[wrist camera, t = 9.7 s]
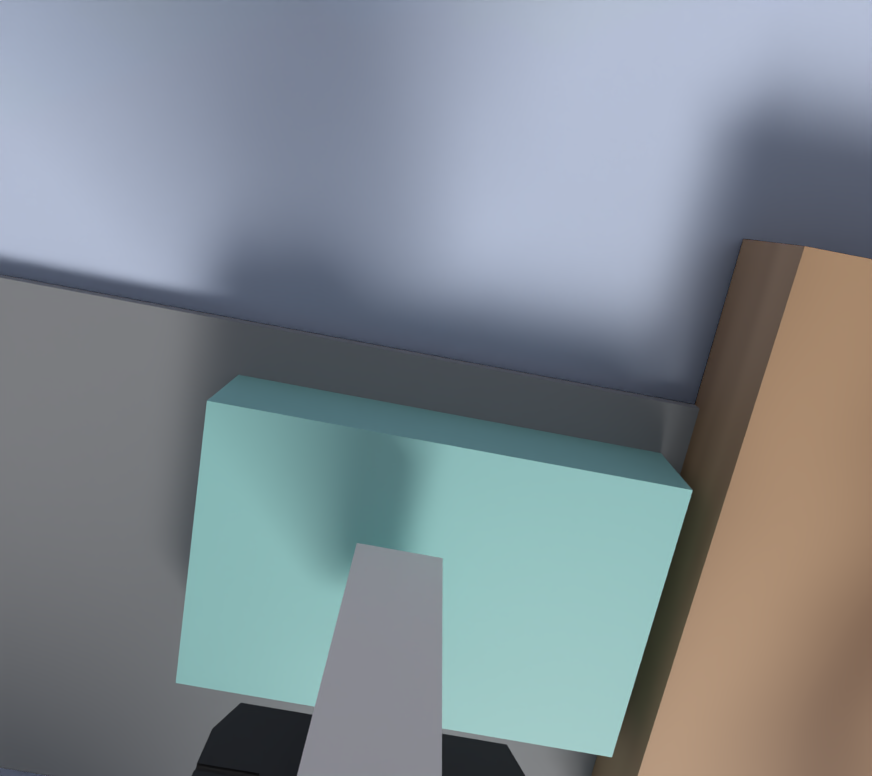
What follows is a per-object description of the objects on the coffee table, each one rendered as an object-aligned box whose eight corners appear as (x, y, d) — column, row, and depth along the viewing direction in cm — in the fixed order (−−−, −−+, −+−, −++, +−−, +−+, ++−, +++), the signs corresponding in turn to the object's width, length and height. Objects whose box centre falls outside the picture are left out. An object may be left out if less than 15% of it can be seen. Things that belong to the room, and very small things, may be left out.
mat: (-151, 732, 17) (-161, 741, 17) (-165, 243, 14) (-177, 244, 14) (564, 850, 18) (566, 860, 18) (694, 404, 15) (699, 408, 15)
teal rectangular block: (208, 625, 16) (175, 682, 14) (239, 374, 15) (207, 400, 13) (592, 691, 16) (611, 757, 14) (660, 453, 15) (692, 490, 13)
